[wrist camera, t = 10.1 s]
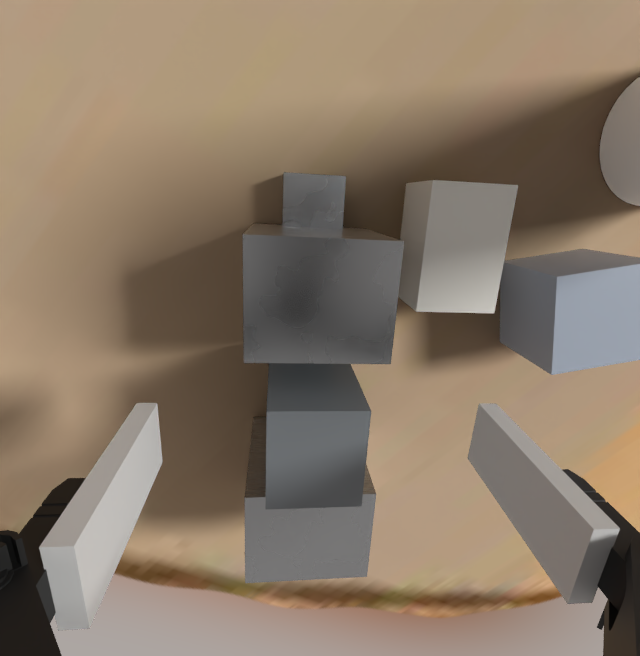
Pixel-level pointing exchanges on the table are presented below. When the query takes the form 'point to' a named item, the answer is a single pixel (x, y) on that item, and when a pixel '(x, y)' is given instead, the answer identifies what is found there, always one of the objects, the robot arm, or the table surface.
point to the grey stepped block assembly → (313, 359)
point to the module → (315, 436)
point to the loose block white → (454, 244)
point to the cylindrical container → (623, 146)
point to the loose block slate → (571, 309)
